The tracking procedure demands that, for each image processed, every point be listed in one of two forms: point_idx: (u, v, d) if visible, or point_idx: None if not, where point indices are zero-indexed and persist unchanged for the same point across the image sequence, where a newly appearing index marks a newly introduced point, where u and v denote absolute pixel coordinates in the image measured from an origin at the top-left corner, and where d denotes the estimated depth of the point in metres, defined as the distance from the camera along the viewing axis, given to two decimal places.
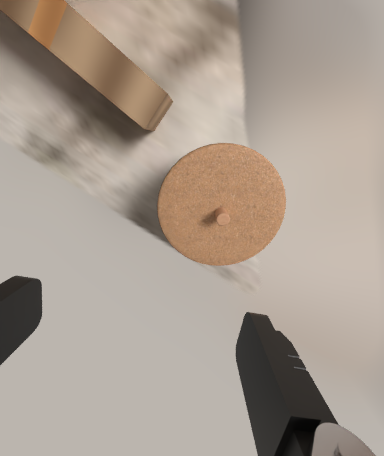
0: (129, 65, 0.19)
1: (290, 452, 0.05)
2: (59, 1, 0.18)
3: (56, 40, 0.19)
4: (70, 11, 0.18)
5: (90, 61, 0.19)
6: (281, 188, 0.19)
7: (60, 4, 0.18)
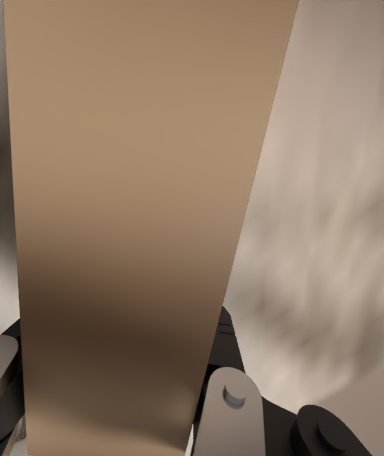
0: (192, 351, 0.04)
1: None
2: None
3: None
4: (273, 4, 0.03)
5: (112, 194, 0.04)
6: None
7: None
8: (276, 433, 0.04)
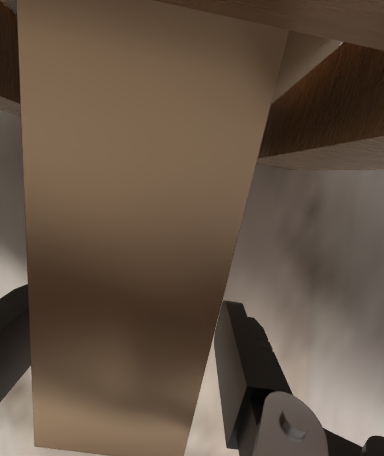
0: (193, 346, 0.05)
1: (247, 419, 0.05)
2: None
3: None
4: None
5: (117, 196, 0.04)
6: None
7: None
8: None
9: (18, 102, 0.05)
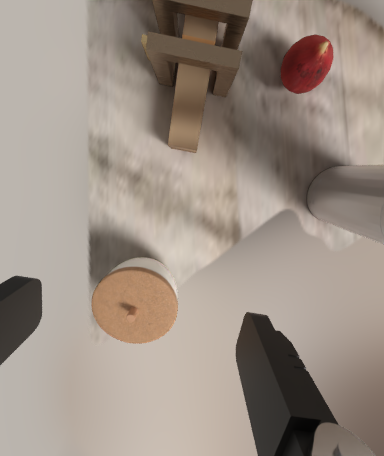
0: (199, 117, 0.27)
1: (290, 452, 0.05)
2: None
3: None
4: None
5: (188, 88, 0.26)
6: (167, 330, 0.31)
7: None
8: None
9: (170, 75, 0.27)
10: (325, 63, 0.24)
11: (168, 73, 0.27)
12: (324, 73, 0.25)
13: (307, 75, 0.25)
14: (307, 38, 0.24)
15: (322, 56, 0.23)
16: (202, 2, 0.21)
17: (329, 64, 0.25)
